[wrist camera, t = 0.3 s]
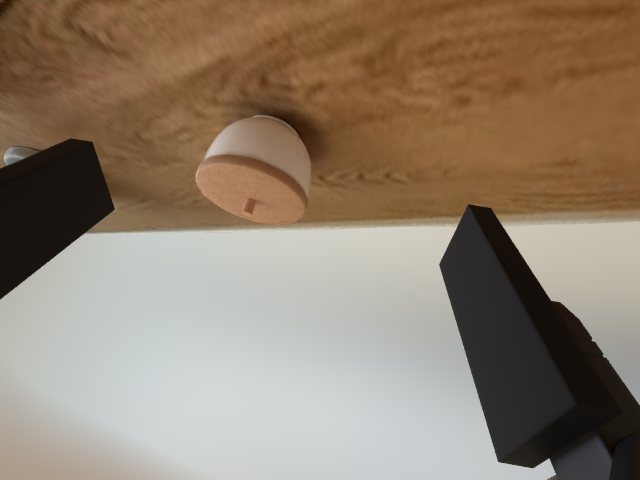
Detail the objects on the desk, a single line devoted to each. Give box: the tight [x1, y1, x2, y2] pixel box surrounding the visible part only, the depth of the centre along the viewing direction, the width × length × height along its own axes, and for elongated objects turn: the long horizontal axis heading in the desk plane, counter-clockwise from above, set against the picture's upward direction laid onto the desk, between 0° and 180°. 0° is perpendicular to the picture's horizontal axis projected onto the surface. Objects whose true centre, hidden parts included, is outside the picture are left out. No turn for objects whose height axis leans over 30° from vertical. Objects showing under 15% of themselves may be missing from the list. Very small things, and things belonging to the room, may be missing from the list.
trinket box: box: [196, 115, 311, 225], centre depth 31 cm, size 11×11×9 cm
